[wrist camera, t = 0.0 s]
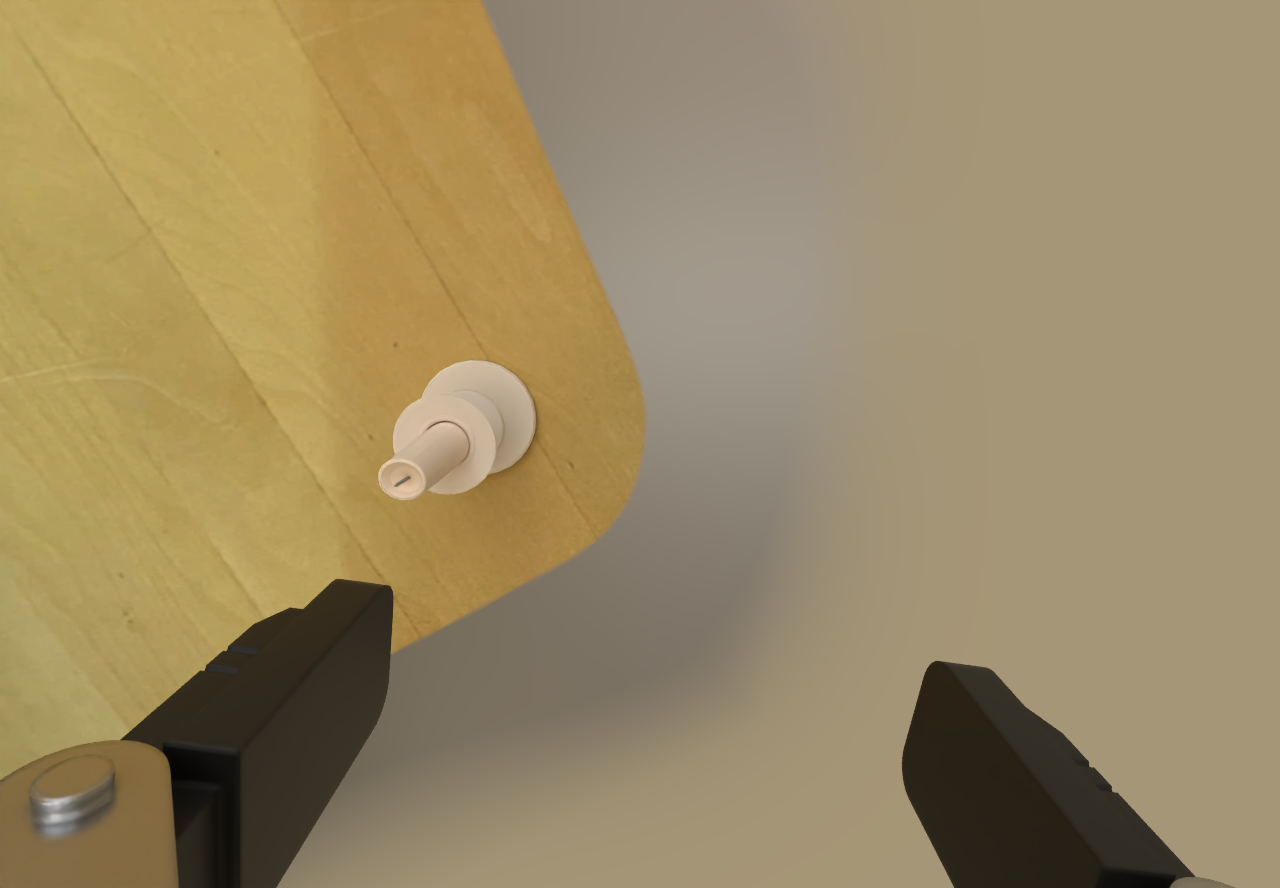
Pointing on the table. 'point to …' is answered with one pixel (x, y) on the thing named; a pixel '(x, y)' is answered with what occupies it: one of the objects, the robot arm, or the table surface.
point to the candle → (459, 431)
